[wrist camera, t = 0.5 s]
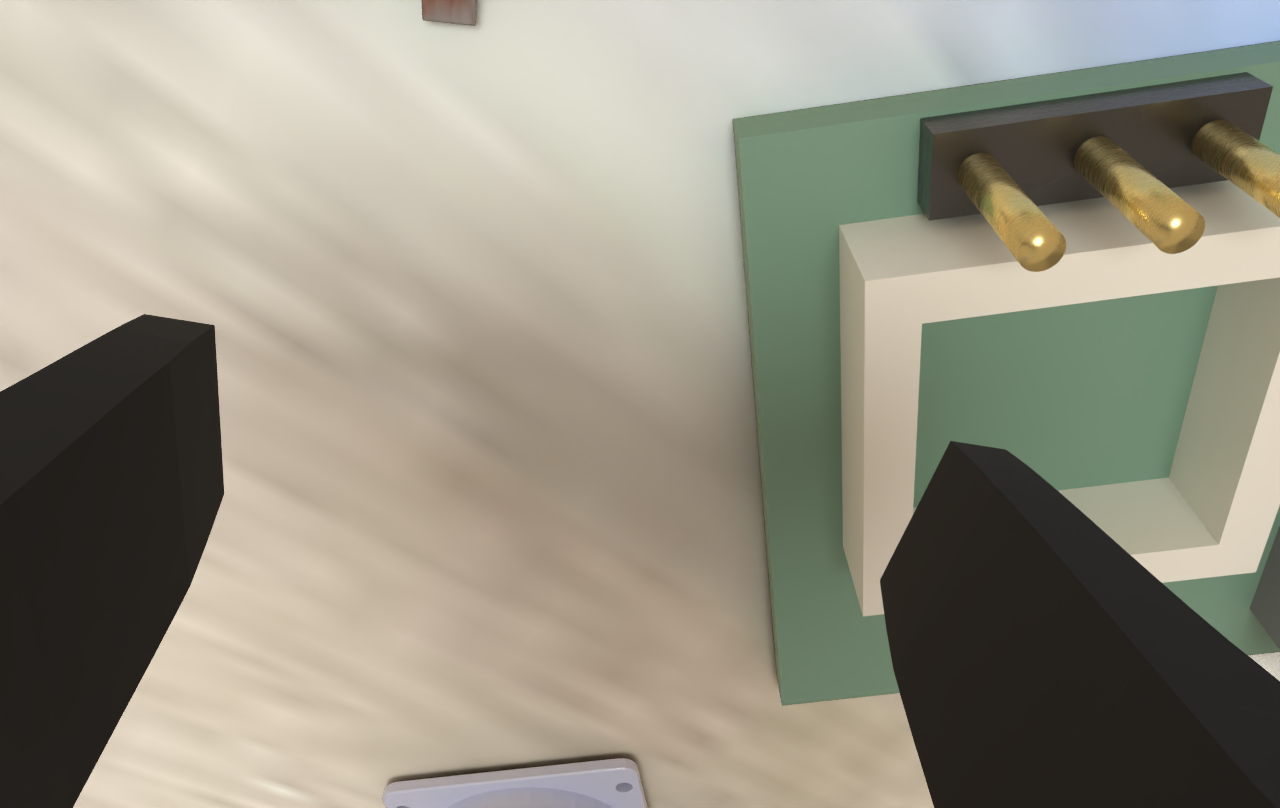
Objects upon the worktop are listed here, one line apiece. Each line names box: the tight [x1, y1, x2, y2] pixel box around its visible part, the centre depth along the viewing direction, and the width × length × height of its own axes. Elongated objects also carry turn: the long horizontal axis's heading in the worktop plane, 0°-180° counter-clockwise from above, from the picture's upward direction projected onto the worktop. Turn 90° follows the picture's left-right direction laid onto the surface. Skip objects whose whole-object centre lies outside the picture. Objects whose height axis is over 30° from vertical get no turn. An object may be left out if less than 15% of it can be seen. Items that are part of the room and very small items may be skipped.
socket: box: [839, 180, 1280, 616], centre depth 19 cm, size 8×8×2 cm
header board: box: [733, 41, 1280, 706], centre depth 21 cm, size 16×17×1 cm
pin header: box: [917, 72, 1280, 272], centre depth 15 cm, size 2×6×4 cm, turn 98°
